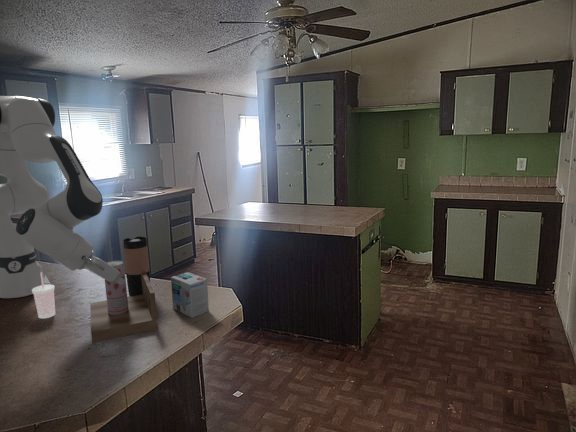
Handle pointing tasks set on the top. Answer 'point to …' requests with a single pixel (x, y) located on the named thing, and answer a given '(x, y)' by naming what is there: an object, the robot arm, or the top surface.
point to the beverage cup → (44, 299)
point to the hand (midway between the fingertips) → (115, 278)
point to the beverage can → (117, 292)
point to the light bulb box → (190, 294)
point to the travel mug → (136, 263)
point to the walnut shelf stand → (125, 315)
